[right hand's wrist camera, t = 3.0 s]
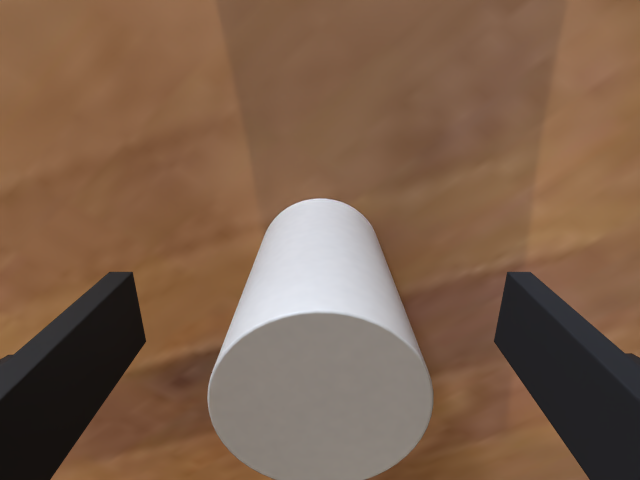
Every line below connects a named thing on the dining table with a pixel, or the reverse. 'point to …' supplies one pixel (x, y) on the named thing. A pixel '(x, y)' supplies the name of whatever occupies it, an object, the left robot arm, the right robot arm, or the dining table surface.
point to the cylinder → (320, 355)
